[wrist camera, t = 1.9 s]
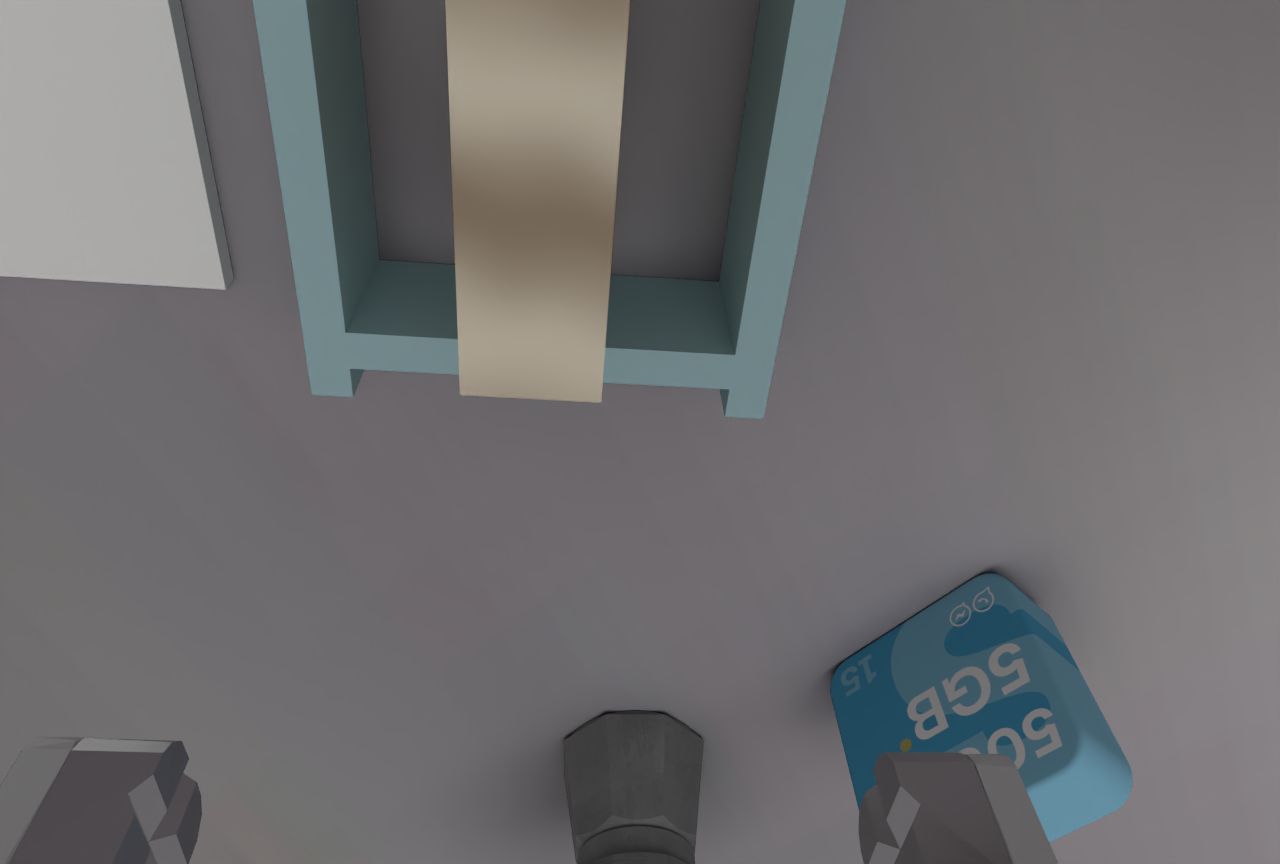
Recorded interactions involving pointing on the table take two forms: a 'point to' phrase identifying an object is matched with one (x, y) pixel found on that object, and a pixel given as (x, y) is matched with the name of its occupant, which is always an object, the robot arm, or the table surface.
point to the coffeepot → (633, 789)
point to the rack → (638, 306)
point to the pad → (105, 147)
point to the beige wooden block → (534, 190)
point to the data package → (984, 702)
